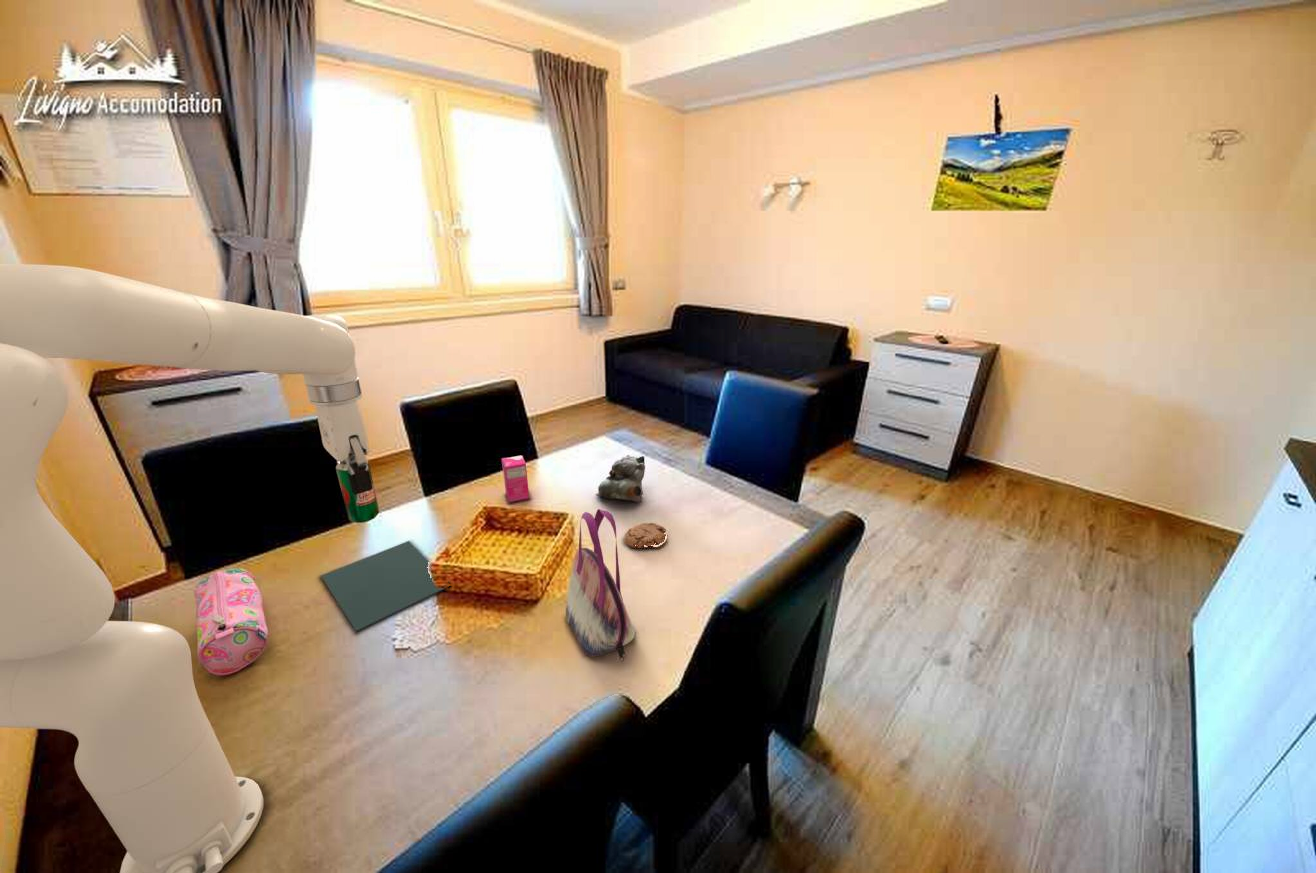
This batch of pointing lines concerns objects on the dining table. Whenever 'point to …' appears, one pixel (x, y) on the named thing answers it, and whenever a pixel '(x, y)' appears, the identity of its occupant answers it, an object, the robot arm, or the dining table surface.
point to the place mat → (381, 585)
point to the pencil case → (229, 621)
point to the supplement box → (515, 479)
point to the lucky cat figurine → (624, 480)
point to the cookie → (645, 535)
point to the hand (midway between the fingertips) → (356, 485)
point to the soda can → (357, 496)
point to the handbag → (597, 597)
